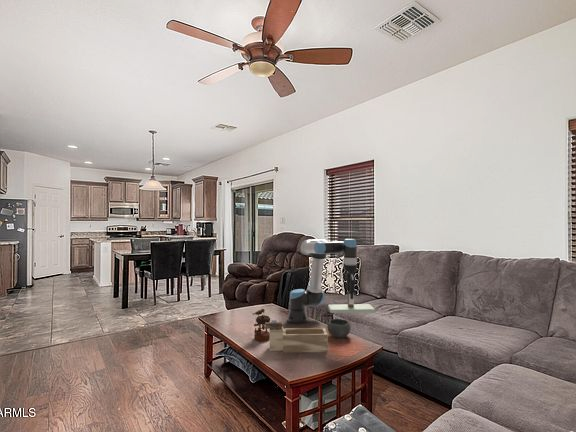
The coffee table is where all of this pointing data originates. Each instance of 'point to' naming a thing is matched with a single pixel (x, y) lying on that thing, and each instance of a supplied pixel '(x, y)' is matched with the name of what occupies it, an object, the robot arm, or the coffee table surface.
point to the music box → (259, 334)
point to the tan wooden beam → (268, 325)
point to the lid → (351, 308)
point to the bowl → (338, 328)
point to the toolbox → (298, 339)
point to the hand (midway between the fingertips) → (350, 303)
